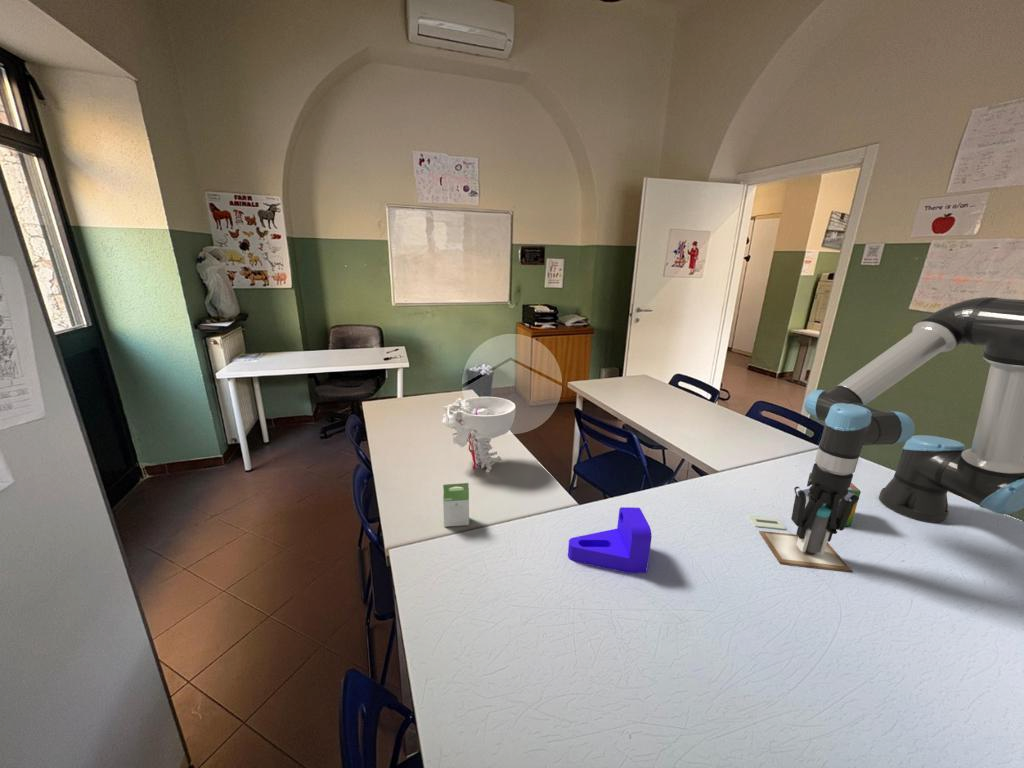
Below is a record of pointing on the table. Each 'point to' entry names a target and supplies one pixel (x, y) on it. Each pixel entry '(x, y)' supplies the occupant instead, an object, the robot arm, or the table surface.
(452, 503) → the ink box
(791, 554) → the brown picture frame
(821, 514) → the marker
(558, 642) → the table surface
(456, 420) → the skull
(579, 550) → the bracket
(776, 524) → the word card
